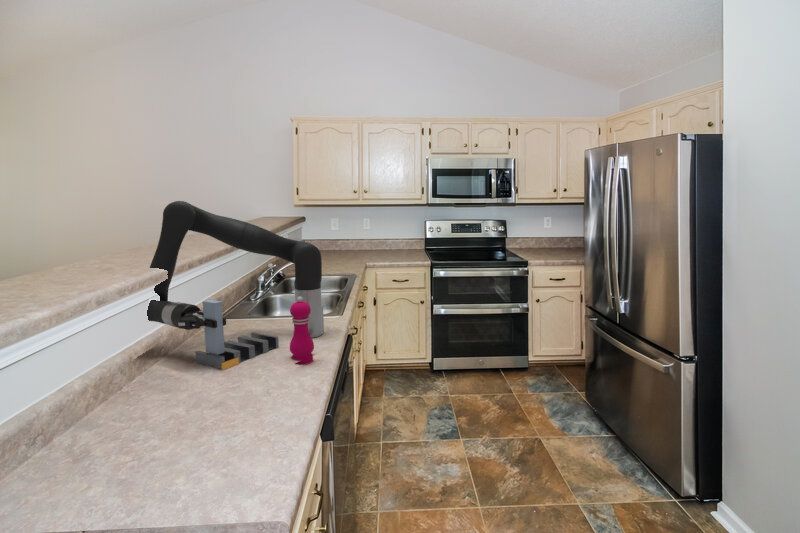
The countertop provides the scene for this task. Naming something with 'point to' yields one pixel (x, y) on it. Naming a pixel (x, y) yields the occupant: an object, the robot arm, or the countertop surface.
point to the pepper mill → (301, 333)
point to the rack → (238, 351)
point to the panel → (214, 335)
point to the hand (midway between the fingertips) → (220, 323)
